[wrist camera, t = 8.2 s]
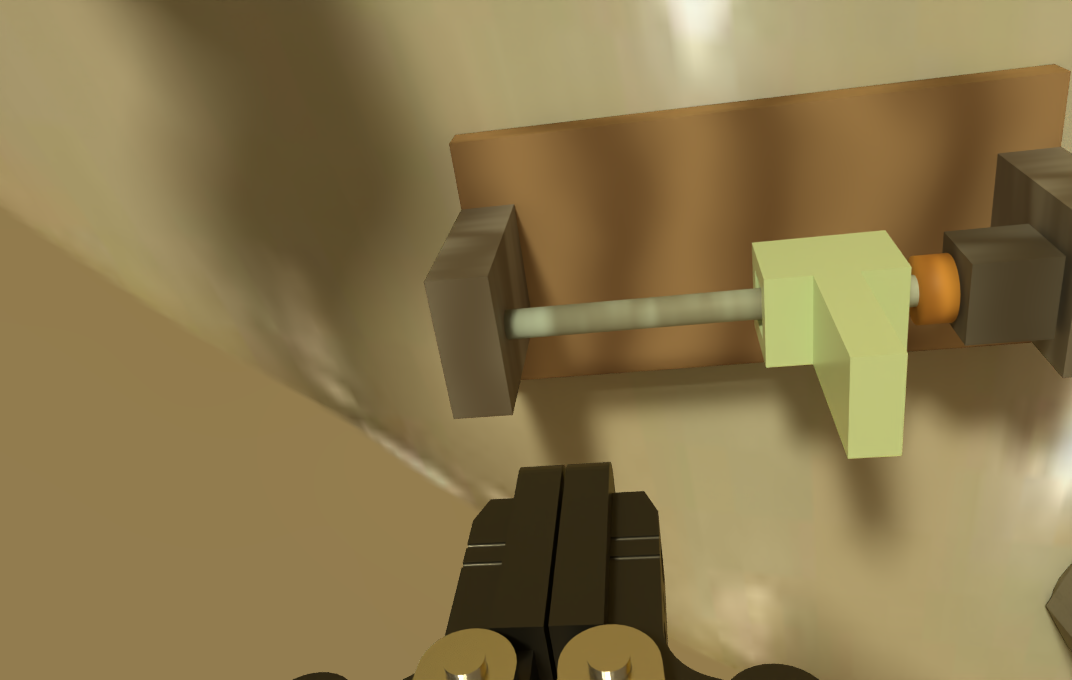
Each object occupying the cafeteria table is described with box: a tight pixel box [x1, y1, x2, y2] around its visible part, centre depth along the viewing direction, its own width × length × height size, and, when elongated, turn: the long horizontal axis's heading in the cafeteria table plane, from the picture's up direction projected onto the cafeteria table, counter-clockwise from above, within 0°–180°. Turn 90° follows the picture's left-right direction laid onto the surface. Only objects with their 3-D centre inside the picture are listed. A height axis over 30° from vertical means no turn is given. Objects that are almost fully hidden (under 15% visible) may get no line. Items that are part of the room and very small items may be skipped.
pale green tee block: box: [752, 230, 912, 459], centre depth 30 cm, size 5×4×10 cm
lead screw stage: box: [424, 64, 1072, 419], centre depth 36 cm, size 25×12×10 cm, turn 98°
